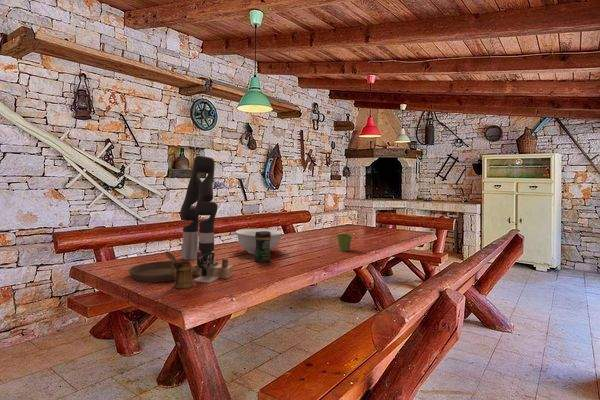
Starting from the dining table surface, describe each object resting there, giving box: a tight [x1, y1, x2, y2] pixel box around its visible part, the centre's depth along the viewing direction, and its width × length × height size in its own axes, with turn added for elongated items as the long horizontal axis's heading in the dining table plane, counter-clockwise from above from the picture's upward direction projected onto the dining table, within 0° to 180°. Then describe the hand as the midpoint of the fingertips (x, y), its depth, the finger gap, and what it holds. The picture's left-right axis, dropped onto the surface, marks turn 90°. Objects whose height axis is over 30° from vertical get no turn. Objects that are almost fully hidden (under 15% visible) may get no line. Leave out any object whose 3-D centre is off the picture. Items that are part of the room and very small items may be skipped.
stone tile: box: [193, 276, 219, 284], centre depth 188 cm, size 9×9×1 cm
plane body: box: [191, 250, 234, 279], centre depth 197 cm, size 20×7×12 cm, turn 77°
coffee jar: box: [253, 231, 271, 263], centre depth 232 cm, size 10×8×19 cm
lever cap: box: [199, 265, 213, 277], centre depth 188 cm, size 5×4×5 cm
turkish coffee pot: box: [165, 250, 195, 290], centre depth 174 cm, size 9×14×18 cm, turn 137°
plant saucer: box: [128, 260, 193, 283], centre depth 195 cm, size 31×31×5 cm
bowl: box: [235, 228, 283, 255], centre depth 258 cm, size 32×32×15 cm
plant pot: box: [335, 233, 354, 252], centre depth 271 cm, size 12×12×11 cm
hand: (206, 274), depth 188 cm, fingers closed on lever cap, 4 cm apart
